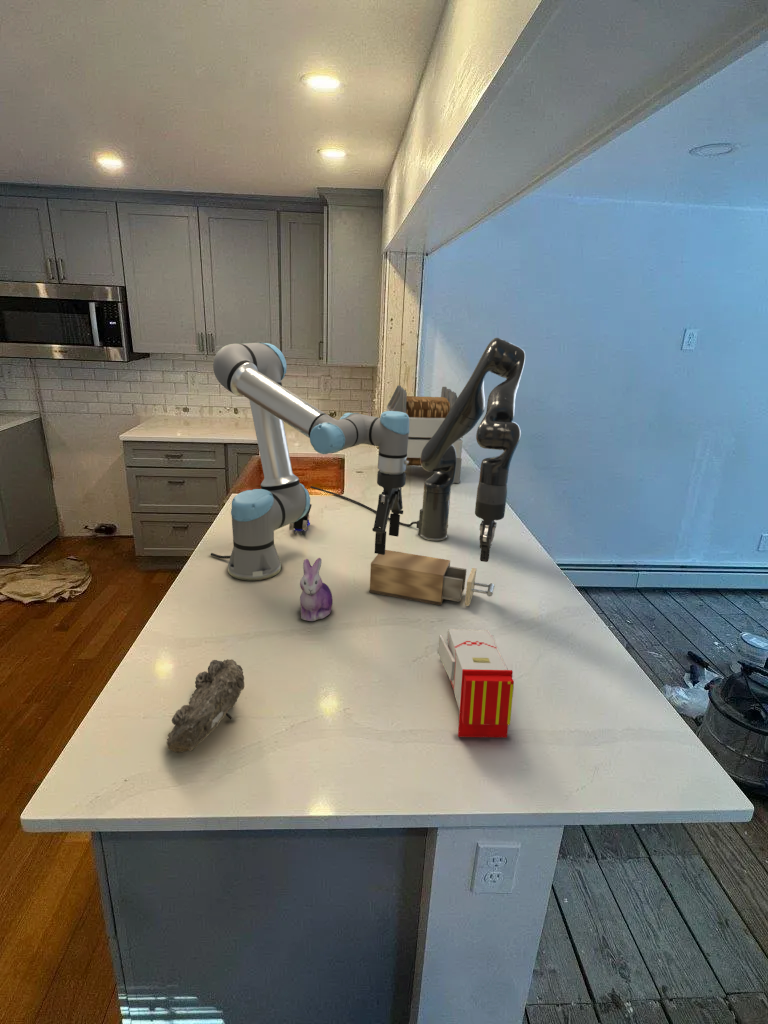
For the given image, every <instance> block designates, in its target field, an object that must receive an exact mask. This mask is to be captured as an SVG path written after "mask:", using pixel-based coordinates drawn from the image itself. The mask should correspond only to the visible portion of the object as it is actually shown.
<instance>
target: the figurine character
mask: <svg viewBox="0 0 768 1024" xmlns="http://www.w3.org/2000/svg"><path fill="white" fill-rule="evenodd" d="M312 505H313V504H311V503H310V507H309V510H308V512H307V513H306V515H305V516H304V517H302V518H300V519H299V520H298V521H296V522H294V523H290V524H288V530H289V531H293V532H292V533H293V535H296V534H297V532H301V535H305V532H306V531H308V527H309V526H310V525H311V522H310V511H311V509H312Z"/></svg>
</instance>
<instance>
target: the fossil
mask: <svg viewBox="0 0 768 1024" xmlns="http://www.w3.org/2000/svg"><path fill="white" fill-rule="evenodd" d="M243 670H244V669H243V667H242V665H240V664H237V662H236V661H235V660H234V659H232V658H231V659H227V658H226V659H224V660H223V661H222V660H217V659H212V660H211V661H210V663H209V665H208V666H207V671H201V672H199V673H198V674H197V675H196V676H195V680H194V684H195V685H194V687H195V689H194V690H193V693H192V694H191V697H190V698H189V700H188V704H184V705H182V706H181V707H180V709H177V710H176V711H175V713H174V715H173V716H172V718H171V723H172V724H173V727H172V730H171V731H170V732H168V734H167V738H166V741H167V742H166V745H167V749H168V750H169V751H173V752H174V753H176V754H178V753H182V752H188V751H189V752H192V751H193V750H195V748H196V747H197V746H199V744H200V743H201V742H203V741H204V740H205V739H206V738H207V737H208V736H209V735H210V734H211V733H212V732H214V730H215V729H217V727H218V726H219V724H220V722H221V721H222V720H223V719H224V718H225V716H226V717H227V719H229V720H233V717H232V715H230V714H229V710H230V709H231V708H234V706H235V704H236V703H237V702H238V699H239V697H240V695H241V693H242V691H243V690H245V689H244V688H245V675H244V671H243Z"/></svg>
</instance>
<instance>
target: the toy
mask: <svg viewBox="0 0 768 1024" xmlns="http://www.w3.org/2000/svg"><path fill="white" fill-rule="evenodd" d="M446 640H447V643H446V641H445V639H444V636H443V635H442V634H439V637H438V646H437V656H438V657H439V659H440V661H441V663H442V666H443V668H444V670H445V672H446V674H447V677H448V679H449V681H450V684H451V687H452V690H453V693H454V697H455V701H456V705H457V708H458V711H459V714H458V715H459V716H458V730H457V731H458V732H457V737H458V738H508V731H509V726H510V725H511V717H512V707H513V697H514V696H513V695H514V684H515V680H514V679H513V673H514V671H513V670H512V669H508V667H507V665H506V662H505V661H504V659H503V658H502V655H501V653H500V651H499V649H498V647H497V643H496V639H495V637H494V635H493V634H491V632H490V631H489V629H467V628H466V629H465V628H463V629H461V628H460V629H459V628H448V630H447V639H446Z"/></svg>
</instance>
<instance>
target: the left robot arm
mask: <svg viewBox="0 0 768 1024" xmlns="http://www.w3.org/2000/svg"><path fill="white" fill-rule="evenodd" d="M212 362H213V363H212V369H213V374H214V376H215V378H216V380H217V381H218V382H219V384H220V385H221V386H222V387H223V388H224V389H226V390H227V391H228V392H230V393H231V394H233V395H235V396H237V397H245V398H247V399H248V401H249V405H250V411H251V415H252V420H253V426H254V431H255V436H256V442H257V447H258V451H259V456H260V462H261V463H260V464H261V466H262V472H263V477H264V478H263V480H262V481H261V483H260V488H253V489H246V490H243V491H241V492H239V493H237V494H236V495H235V496H233V498H232V501H231V508H230V509H231V510H230V516H231V528H232V529H231V530H232V543H233V546H232V550H231V553H230V555H219V554H217V553H213V552H211V553H210V556H211V557H213V558H217V559H221V560H225V559H229V560H228V563H227V571H228V574H229V575H230V576H231V577H233V578H234V579H238V580H241V581H251V582H252V581H262V580H266V579H267V580H268V579H270V578H273V577H275V576H277V574H279V573H280V572H281V570H282V562H281V558H280V557H279V554H278V551H277V549H276V546H275V531H276V530H279V529H281V528H283V527H286V526H289V524H290V523H294V522H296V521H298V520H299V519H300V518H302V517H304V516H305V515H306V513H307V512H308V510H309V507H310V504H311V497H310V493H309V491H308V489H307V488H306V487H305V485H304V484H303V483H300V478H299V477H298V476H297V475H295V474H294V472H293V468H292V467H293V466H292V462H291V461H292V460H291V457H290V450H289V446H288V440H287V433H286V429H285V424H287V425H288V426H290V427H291V428H293V429H295V430H296V431H298V432H299V433H300V434H301V435H304V436H305V437H307V438H309V442H310V446H312V448H313V450H314V451H315V452H317V453H318V454H320V455H328V454H335V453H338V452H340V451H343V450H346V449H350V448H352V447H356V446H359V445H367V446H368V445H369V446H373V447H378V456H377V475H376V483H377V486H379V487H381V488H382V491H381V493H379V494H378V500H377V507H376V511H377V512H376V513H375V517H374V523H373V527H372V529H371V530H372V532H373V533H375V535H374V537H375V538H374V554H377V555H378V554H381V555H384V554H385V550H386V542H387V531H386V529H387V526H388V525H389V526H388V528H389V529H388V536H390V537H397V538H398V537H399V535H400V524H399V522H401V521H400V520H401V515H403V514H404V510H403V508H404V506H403V495H402V488H404V487H405V486H406V479H407V478H406V476H407V473H406V470H407V465H406V464H408V463H409V462H408V461H407V460H406V458H407V447H408V437H409V432H410V430H409V416H408V415H407V414H406V413H404V412H399V411H387V410H385V411H382V412H381V413H380V417H378V416H373V415H366V414H361V413H359V412H345V413H344V414H342V416H341V417H340V418H339V419H335V418H333V417H332V416H331V415H329V414H327V413H326V412H324V411H323V410H320V408H317V407H316V406H315V405H313V404H311V403H310V402H308V401H306V400H305V399H303V398H302V397H300V396H299V395H297V394H295V393H294V392H292V391H291V390H289V389H287V388H285V386H283V384H282V381H283V379H284V378H285V377H286V375H285V374H287V369H288V367H287V361H286V357H285V356H284V354H283V352H282V351H281V350H280V348H278V347H277V346H276V345H274V344H272V343H269V342H246V343H229V344H226V345H224V346H223V347H221V348H219V350H218V351H217V352H216V354H215V356H214V358H213V361H212ZM284 423H285V424H284ZM388 517H389V518H390V520H388ZM388 522H389V524H388Z"/></svg>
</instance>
